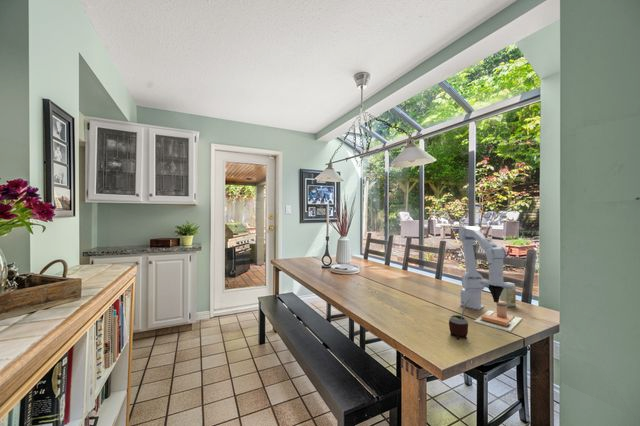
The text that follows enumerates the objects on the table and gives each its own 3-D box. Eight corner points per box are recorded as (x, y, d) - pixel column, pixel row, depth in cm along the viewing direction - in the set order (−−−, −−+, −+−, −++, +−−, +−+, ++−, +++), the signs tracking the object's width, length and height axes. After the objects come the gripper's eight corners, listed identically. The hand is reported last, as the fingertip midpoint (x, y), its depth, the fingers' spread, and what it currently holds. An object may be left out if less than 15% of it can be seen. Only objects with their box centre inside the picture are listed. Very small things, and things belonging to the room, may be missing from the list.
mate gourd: (448, 337, 109) (447, 301, 109) (450, 330, 116) (450, 296, 116) (468, 342, 105) (468, 304, 105) (470, 334, 112) (469, 299, 112)
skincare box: (507, 307, 143) (507, 284, 143) (499, 304, 147) (499, 282, 147) (516, 305, 145) (516, 283, 145) (508, 303, 149) (508, 281, 149)
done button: (481, 319, 125) (481, 316, 125) (484, 317, 127) (484, 314, 127) (506, 326, 117) (506, 322, 117) (509, 323, 120) (509, 320, 120)
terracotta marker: (495, 316, 129) (495, 302, 129) (498, 314, 132) (498, 300, 132) (505, 318, 126) (505, 304, 126) (508, 316, 129) (507, 302, 129)
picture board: (474, 322, 124) (474, 320, 124) (488, 311, 137) (488, 310, 137) (510, 332, 114) (510, 330, 114) (522, 319, 127) (522, 317, 127)
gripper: (475, 271, 127) (476, 300, 127) (512, 277, 116) (512, 308, 116) (481, 269, 132) (481, 296, 132) (516, 274, 121) (516, 304, 121)
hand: (496, 301), depth 124 cm, fingers closed
